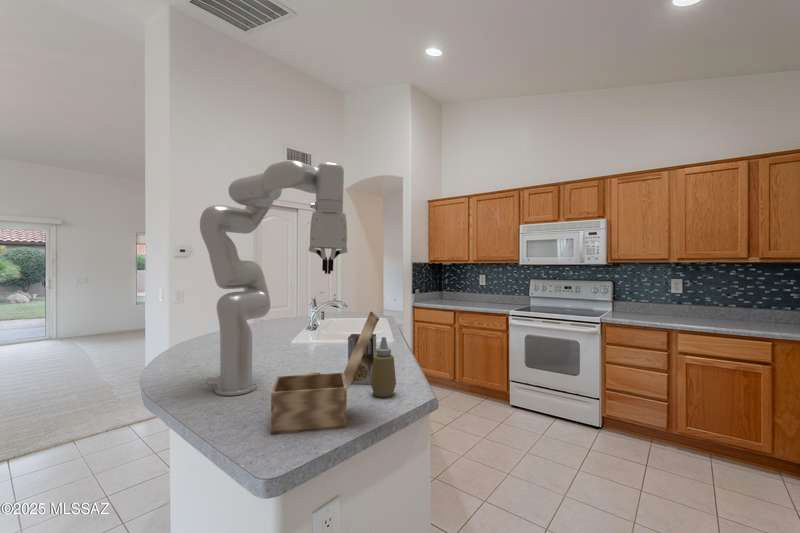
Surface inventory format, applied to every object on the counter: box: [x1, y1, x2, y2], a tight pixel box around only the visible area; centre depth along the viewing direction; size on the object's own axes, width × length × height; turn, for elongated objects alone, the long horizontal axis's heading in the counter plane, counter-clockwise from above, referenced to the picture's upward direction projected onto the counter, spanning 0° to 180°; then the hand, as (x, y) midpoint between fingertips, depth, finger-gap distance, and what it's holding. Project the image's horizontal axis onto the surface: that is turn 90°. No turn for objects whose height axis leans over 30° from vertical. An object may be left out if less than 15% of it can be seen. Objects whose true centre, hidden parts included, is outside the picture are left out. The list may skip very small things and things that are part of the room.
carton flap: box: [343, 311, 380, 389], centre depth 99 cm, size 19×13×1 cm
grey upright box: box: [347, 333, 377, 385], centre depth 128 cm, size 9×6×16 cm
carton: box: [270, 372, 348, 435], centre depth 97 cm, size 18×13×10 cm
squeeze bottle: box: [370, 336, 397, 398], centre depth 115 cm, size 8×8×18 cm
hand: (327, 273), depth 104 cm, fingers closed
